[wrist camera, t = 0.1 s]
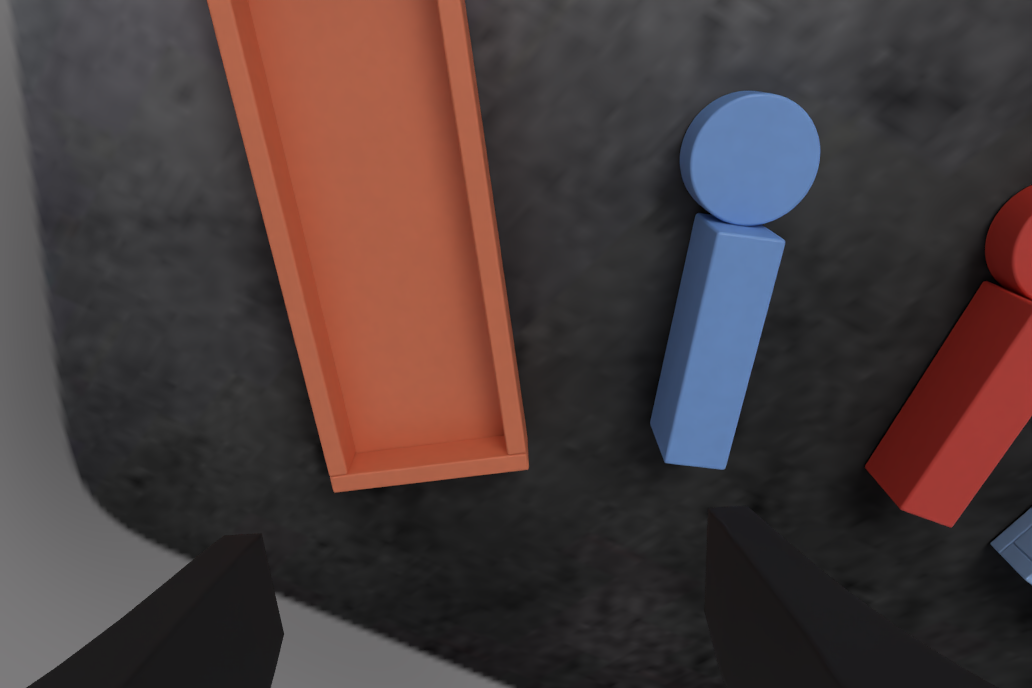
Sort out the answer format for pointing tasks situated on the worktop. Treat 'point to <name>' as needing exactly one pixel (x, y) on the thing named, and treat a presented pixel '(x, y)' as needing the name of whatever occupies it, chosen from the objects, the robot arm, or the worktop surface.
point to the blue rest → (1017, 545)
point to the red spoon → (968, 386)
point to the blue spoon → (728, 265)
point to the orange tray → (381, 230)
